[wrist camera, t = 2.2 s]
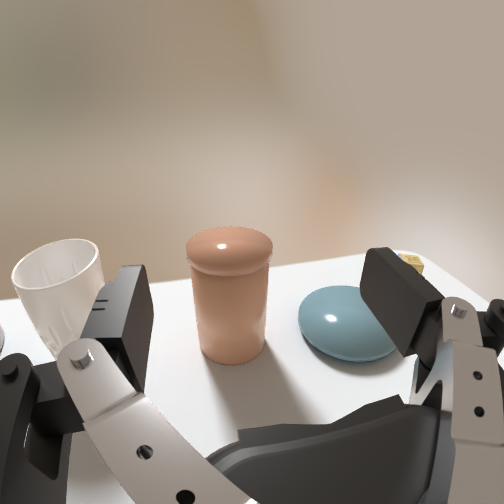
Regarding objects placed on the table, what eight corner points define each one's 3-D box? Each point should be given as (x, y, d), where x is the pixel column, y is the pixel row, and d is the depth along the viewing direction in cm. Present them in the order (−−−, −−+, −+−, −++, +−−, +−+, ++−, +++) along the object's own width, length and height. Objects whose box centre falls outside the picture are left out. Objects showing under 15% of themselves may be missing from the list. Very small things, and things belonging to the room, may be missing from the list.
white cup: (140, 357, 24) (113, 260, 20) (69, 397, 19) (17, 304, 14) (104, 315, 29) (81, 230, 24) (44, 346, 24) (7, 260, 19)
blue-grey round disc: (316, 376, 23) (319, 367, 22) (285, 299, 33) (286, 290, 32) (418, 351, 25) (422, 343, 24) (371, 289, 34) (374, 281, 34)
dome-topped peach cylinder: (198, 369, 24) (184, 269, 19) (196, 320, 29) (187, 228, 24) (272, 362, 25) (281, 262, 20) (259, 316, 30) (263, 224, 25)
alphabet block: (392, 271, 38) (397, 252, 37) (412, 273, 38) (417, 254, 36) (398, 284, 35) (403, 263, 34) (418, 285, 35) (424, 265, 34)
